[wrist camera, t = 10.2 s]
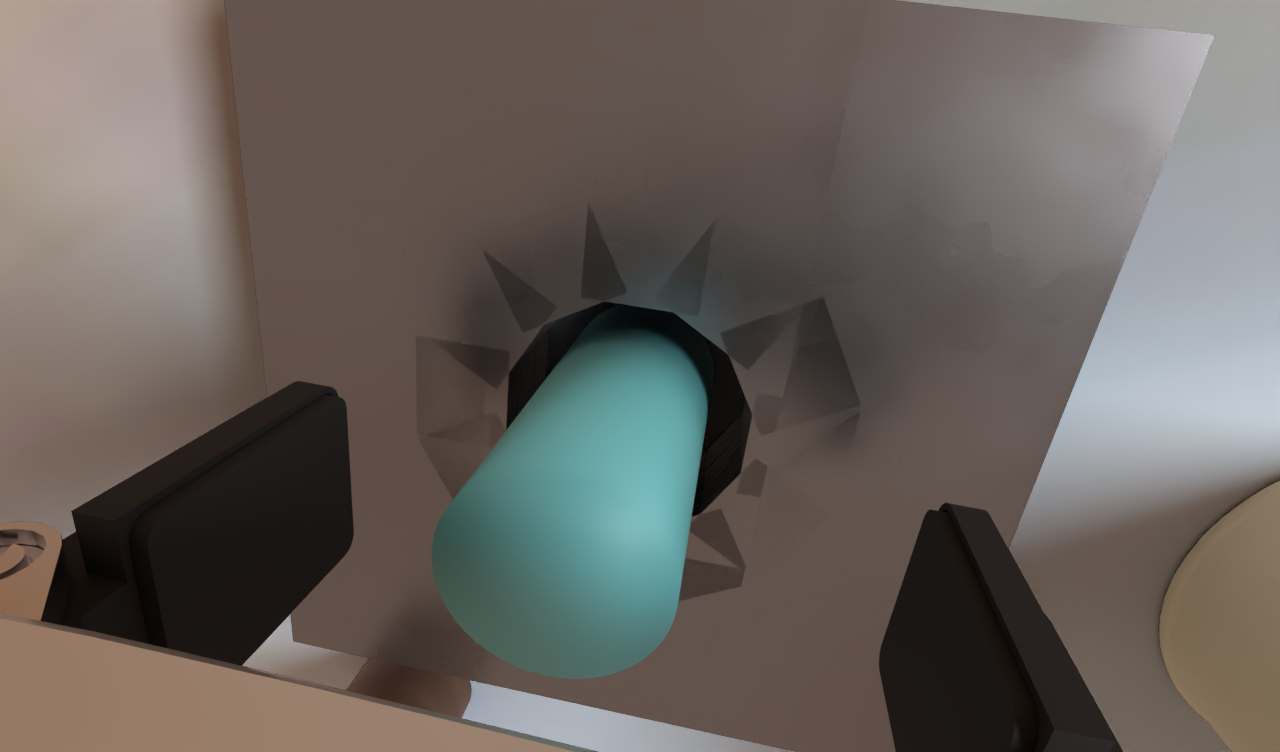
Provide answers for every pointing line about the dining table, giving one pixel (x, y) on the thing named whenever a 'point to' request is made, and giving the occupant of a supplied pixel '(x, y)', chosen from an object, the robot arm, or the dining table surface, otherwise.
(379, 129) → the socket plate
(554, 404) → the teal peg
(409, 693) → the walnut peg
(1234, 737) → the can
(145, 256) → the dining table surface
